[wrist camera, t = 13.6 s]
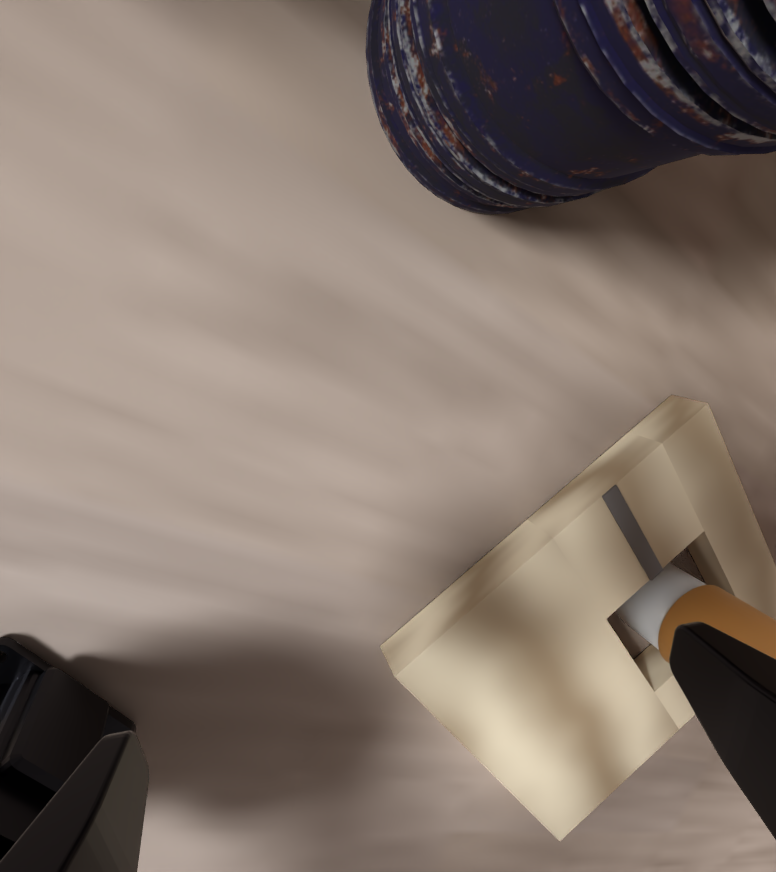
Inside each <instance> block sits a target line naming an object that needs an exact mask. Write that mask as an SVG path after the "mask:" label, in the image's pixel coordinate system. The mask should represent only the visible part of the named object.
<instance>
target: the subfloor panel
mask: <svg viewBox="0 0 776 872" xmlns="http://www.w3.org/2000/svg"><path fill="white" fill-rule="evenodd" d="M686 547H687V548H688V550H689V551H690V553H691V555H692V557H693V559H694V561H695V563H696V565H697V567H698V569H699V571H700V573H701V575H702V577H703V579H704V581H705V583H706V585H715V586H718V587H720V588H721V589H723V590H725V591H727V592H728V593H730V594H732V595H733V596H735V597H737V598H739V599H740V600H742V601H744V602H745V603H747V604H749V605H751V606H752V607H754V608H756V609H757V610H759V611H761V612H762V613H764V614H766V615H768V616H769V617H771V618H773V619H774V620H776V565H775V563H774V561H773V558H772V556H771V553H770V551H769V549H768V546H767V544H766V541H765V539H764V536H763V534H762V532H761V529H760V527H759V524H758V522H757V520H756V517H755V515H754V512H753V510H752V508H751V505H750V503H749V500H748V498H747V496H746V493H745V491H744V488H743V486H742V483H741V481H740V479H739V476H738V474H737V471H736V469H735V467H734V464H733V462H732V459H731V457H730V455H729V452H728V450H727V447H726V445H725V443H724V440H723V438H722V435H721V433H720V430H719V428H718V426H717V423H716V421H715V418H714V416H713V414H712V411H711V409H710V406H709V404H708V403H705V402H701V401H696V400H692V399H688V398H683V397H679V396H675V395H671V396H670V397H669V398H667V399H666V400H665V401H664V402H663V403H662V404H660V405H659V406H658V407H657V408H656V409H655V410H653V411H652V412H651V413H650V414H649V415H648V416H646V417H645V418H644V419H643V420H642V421H641V422H640V423H638V424H637V425H636V426H635V427H634V428H633V429H631V430H630V431H629V432H628V433H627V434H626V435H624V436H623V437H622V438H621V439H620V440H619V441H617V442H616V443H615V444H614V445H613V446H612V447H611V448H609V449H608V450H607V451H606V452H605V453H604V454H602V455H601V456H600V457H599V458H598V459H597V460H595V461H594V462H593V463H592V464H591V465H590V466H588V467H587V468H586V469H585V470H584V471H583V472H582V473H580V474H579V475H578V476H577V477H576V478H575V479H573V480H572V481H571V482H570V483H569V484H568V485H566V486H565V487H564V488H563V489H562V490H561V491H559V492H558V493H557V494H556V495H555V496H554V497H553V498H551V499H550V500H549V501H548V502H547V503H546V504H544V505H543V506H542V507H541V508H540V509H539V510H537V511H536V512H535V513H534V514H533V515H532V516H530V517H529V518H528V519H527V520H526V521H525V522H524V523H522V524H521V525H520V526H519V527H518V528H517V529H515V530H514V531H513V532H512V533H511V534H510V535H508V536H507V537H506V538H505V539H504V540H503V541H501V542H500V543H499V544H498V545H497V546H496V547H495V548H493V549H492V550H491V551H490V552H489V553H488V554H486V555H485V556H484V557H483V558H482V559H481V560H479V561H478V562H477V563H476V564H475V565H474V566H472V567H471V568H470V569H469V570H468V571H467V572H466V573H464V574H463V575H462V576H461V577H460V578H459V579H457V580H456V581H455V582H454V583H453V584H452V585H450V586H449V587H448V588H447V589H446V590H445V591H443V592H442V593H441V594H440V595H439V596H438V597H437V598H435V599H434V600H433V601H432V602H431V603H430V604H428V605H427V606H426V607H425V608H424V609H423V610H421V611H420V612H419V613H418V614H417V615H416V616H414V617H413V618H412V619H411V620H410V621H409V622H408V623H406V624H405V625H404V626H403V627H402V628H401V629H399V630H398V631H397V632H396V633H395V634H394V635H392V636H391V637H390V638H389V639H388V640H387V641H385V642H384V643H383V644H382V645H381V646H380V647H381V650H382V652H383V654H384V656H385V658H386V660H387V662H388V664H389V666H390V668H391V671H392V673H393V675H394V677H395V678H396V679H397V680H398V681H399V682H400V683H401V684H402V685H403V686H404V687H405V688H406V689H407V690H408V691H409V692H410V693H411V694H412V695H413V696H414V697H415V698H416V699H417V700H418V701H419V702H420V703H421V704H422V705H423V706H424V707H425V708H426V709H427V710H428V711H429V712H430V713H431V714H432V715H433V716H434V717H435V718H436V719H437V720H438V721H439V722H440V723H441V724H442V725H443V726H444V727H445V728H446V729H447V730H448V731H449V732H450V733H451V734H452V735H453V736H454V737H455V738H456V739H457V740H458V741H459V742H460V743H461V744H462V745H463V746H464V747H465V748H466V749H467V750H468V751H469V752H470V753H471V754H472V755H473V756H474V757H475V758H476V759H477V760H478V761H479V762H480V763H481V764H482V765H483V766H484V767H485V768H486V769H487V770H488V771H489V772H490V773H491V774H492V775H493V776H494V777H495V778H496V779H497V780H498V781H499V782H500V783H501V784H502V785H503V786H504V787H505V788H506V789H507V790H508V791H509V792H510V793H511V794H512V795H513V796H514V797H515V798H516V799H517V800H518V801H519V802H520V803H521V804H523V805H524V806H525V807H526V808H527V809H528V810H529V811H530V812H531V813H532V814H533V815H534V816H535V817H536V818H537V819H538V820H539V821H540V822H541V823H542V824H543V825H544V826H545V827H546V828H547V829H548V830H549V831H550V832H551V833H552V834H553V835H554V836H555V837H556V838H557V839H558V840H559V841H561V840H562V839H563V838H564V837H565V836H566V835H567V834H568V833H569V832H571V831H572V830H573V829H574V828H575V827H576V826H577V825H578V824H579V823H580V822H581V821H582V820H583V819H584V818H585V817H587V816H588V815H589V814H590V813H591V812H592V811H593V810H594V809H595V808H596V807H597V806H598V805H599V804H600V803H601V802H602V801H604V800H605V799H606V798H607V797H608V796H609V795H610V794H611V793H612V792H613V791H614V790H615V789H616V788H617V787H618V786H620V785H621V784H622V783H623V782H624V781H625V780H626V779H627V778H628V777H629V776H630V775H631V774H632V773H633V772H634V771H636V770H637V769H638V768H639V767H640V766H641V765H642V764H643V763H644V762H645V761H646V760H647V759H648V758H649V757H650V756H651V755H653V754H654V753H655V752H656V751H657V750H658V749H659V748H660V747H661V746H662V745H663V744H664V743H665V742H666V741H667V740H669V739H670V738H671V737H672V736H673V735H674V734H675V733H676V732H677V731H678V730H679V729H680V728H681V727H682V726H683V725H685V724H686V723H687V722H688V721H689V720H690V719H691V718H692V717H693V716H694V715H695V713H694V711H693V709H692V707H691V705H690V704H689V702H688V700H687V698H686V697H685V695H684V693H683V691H682V690H681V688H680V686H679V684H678V682H677V681H676V679H675V677H674V675H673V673H672V671H671V668H670V664H669V663H668V662H666V661H665V660H664V659H663V657H662V656H661V654H660V651H659V650H658V649H657V648H656V647H654V646H653V645H652V644H651V645H650V646H649V647H647V648H646V649H645V650H644V651H643V652H642V653H641V654H640V655H639V656H638V657H637V658H635V659H634V660H633V659H632V657H631V656H630V654H629V653H628V651H627V650H626V648H625V647H624V645H623V644H622V642H621V640H620V639H619V637H618V636H617V634H616V633H615V631H614V630H613V628H612V627H611V625H610V624H609V622H608V621H607V618H608V617H609V616H610V615H611V614H612V613H613V612H615V611H616V610H617V609H618V608H619V607H620V606H621V605H622V604H623V603H625V602H626V601H627V600H628V599H629V598H630V597H631V596H632V595H634V594H635V593H636V592H637V591H638V590H639V589H640V588H641V587H642V586H644V585H645V584H646V583H647V582H648V581H649V580H650V581H652V580H653V579H654V578H655V577H656V576H657V575H659V574H660V573H661V572H662V571H663V568H664V567H665V566H666V565H667V564H668V563H669V562H670V561H671V560H672V559H674V558H675V557H676V556H677V555H678V554H679V553H680V552H681V551H682V550H684V549H685V548H686Z"/></svg>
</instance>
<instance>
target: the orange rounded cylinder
mask: <svg viewBox="0 0 776 872" xmlns="http://www.w3.org/2000/svg"><path fill="white" fill-rule="evenodd" d="M617 612H618V615H619V617H620V618H621V620H622V621H623V622H625V623H626V624H627V625H628V626H630V627H631V628H632V629H633V630H635V631H636V632H637V633H638V634H640V635H641V636H642V637H643V638H644V639H646V640H647V641H648V642H649V643H651V644H652V645H653V646H654V647H656V648H657V649H658V650H659V651H660V654H661V656H662V657H663V659H664V660H665V661H666V662H668V663H669V657H670V652H671V647H672V642H673V637H674V632H675V629H676V627H677V626H678V625H681V624H686V623H691V622H703V623H706V624H708V625H710V626H712V627H714V628H716V629H718V630H720V631H722V632H724V633H726V634H728V635H730V636H731V637H733V638H735V639H737V640H739V641H741V642H743V643H745V644H747V645H749V646H751V647H753V648H755V649H757V650H759V651H761V652H763V653H765V654H767V655H768V656H770V657H772V658H774V659H776V620H774V619H773V618H771V617H769V616H768V615H766V614H764V613H762V612H761V611H759V610H757V609H756V608H754V607H752V606H751V605H749V604H747V603H745V602H744V601H742V600H740V599H739V598H737V597H735V596H733V595H732V594H730V593H728V592H727V591H725V590H723V589H721V588H720V587H718V586H715V585H706V584H705V583H703V582H701V581H700V580H698V579H696V578H695V577H693V576H691V575H690V574H688V573H686V572H685V571H683V570H681V569H680V568H678V567H676V566H675V565H673V564H671V563H668V564H667V565H666V566H665V567H664V568H663V571H662V572H661V573H660V574H659V575H657V576H656V577H655V578H654V579H653V580H652V581H650V580H649V581H648V582H647V583H646V584H645V585H644V586H642V587H641V588H640V589H639V590H638V591H637V592H636V593H635V594H634V595H632V596H631V597H630V598H629V599H628V600H627V601H626V602H625V603H623V604H622V605H621V606H620V607H619V608H618V609H617ZM669 664H670V663H669Z"/></svg>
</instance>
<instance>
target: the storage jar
mask: <svg viewBox="0 0 776 872" xmlns="http://www.w3.org/2000/svg"><path fill="white" fill-rule="evenodd" d="M366 59H367V72H368V80H369V85H370V90H371V94H372V99H373V103H374V106H375V109H376V112H377V115H378V118H379V121H380V124H381V126H382V129H383V131H384V132H385V134H386V136H387V138H388V140H389V142H390V144H391V146H392V148H393V150H394V151H395V153H396V154H397V156H398V157H399V159H400V160H401V161H402V163H403V164H404V166H405V167H406V168H407V170H408V171H409V172H410V173H411V174H412V175H413V176H414V177H415V178H416V179H417V180H418V181H419V182H420V183H421V184H422V185H423V186H424V187H426V188H427V189H428V190H429V191H431V192H432V193H433V194H434V195H436V196H437V197H439V198H441V199H443V200H444V201H446V202H448V203H450V204H452V205H454V206H456V207H459V208H462V209H465V210H468V211H471V212H477V213H484V214H504V213H511V212H515V211H519V210H523V209H527V208H531V207H547V206H552V205H556V204H560V203H565V202H569V201H573V200H577V199H581V198H585V197H588V196H590V195H592V194H594V193H597V192H599V191H601V190H603V189H607V188H611V187H614V186H618V185H622V184H625V183H628V182H630V181H632V180H634V179H636V178H639V177H641V176H643V175H645V174H647V173H648V172H649V171H651V170H652V169H654V168H655V167H657V166H660V165H663V164H667V163H670V162H674V161H678V160H681V159H685V158H689V157H692V156H696V155H700V154H705V155H710V156H711V155H739V154H765V153H769V152H773V151H776V0H372V1H371V6H370V11H369V17H368V22H367V37H366Z"/></svg>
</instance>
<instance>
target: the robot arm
mask: <svg viewBox="0 0 776 872" xmlns="http://www.w3.org/2000/svg"><path fill="white" fill-rule="evenodd" d="M0 651H3V652H5V653H6V656H0V872H137V868H138V860H139V853H140V845H141V837H142V829H143V822H144V814H145V806H146V798H147V791H148V783H149V769H148V764H147V761H146V759H145V756H144V753H143V751H142V748H141V746H140V743H139V741H138V738H137V736H136V734H135V733H136V726H135V724H134V723H133V722H132V721H131V720H129V719H128V718H126V717H125V716H123V715H122V714H121V713H119V712H118V711H116V710H115V709H113V708H112V707H110V706H109V704H108V703H107V702H106V701H105V700H103V699H102V698H100V697H99V696H97V695H96V694H94V693H93V692H92V691H90V690H89V689H87V688H86V687H84V686H83V685H81V684H80V683H79V682H77V681H76V680H74V679H73V678H71V677H70V676H68V675H67V674H66V673H64V672H63V671H61V670H60V669H58V668H54V667H52V666H51V665H49V664H48V663H46V662H45V661H44V660H42V659H41V658H39V657H38V656H36V655H35V654H33V653H32V652H31V651H29V650H28V649H26V648H25V647H23V646H22V645H20V644H19V643H17V642H16V641H15V640H12V639H10V638H5V637H1V638H0ZM669 663H670V668H671V671H672V673H673V675H674V677H675V679H676V681H677V682H678V684H679V686H680V688H681V690H682V691H683V693H684V695H685V697H686V698H687V700H688V702H689V704H690V705H691V707H692V709H693V711H694V713H695V714H696V716H697V718H698V720H699V721H700V723H701V725H702V727H703V728H704V730H705V732H706V734H707V736H708V737H709V739H710V741H711V743H712V744H713V746H714V748H715V750H716V751H717V753H718V755H719V756H720V758H721V760H722V761H723V763H724V764H725V766H726V767H727V769H728V770H729V772H730V774H731V775H732V777H733V778H734V780H735V781H736V782H737V784H738V785H739V787H740V788H741V790H742V791H743V793H744V794H745V796H746V797H747V799H748V800H749V801H750V803H751V804H752V806H753V807H754V809H755V810H756V812H757V813H758V815H759V816H760V817H761V819H762V820H763V822H764V823H765V825H766V826H767V828H768V829H769V831H770V832H771V834H772V835H773V836H774V838H775V839H776V659H774V658H772V657H770V656H768V655H767V654H765V653H763V652H761V651H759V650H757V649H755V648H753V647H751V646H749V645H747V644H745V643H743V642H741V641H739V640H737V639H735V638H733V637H731V636H730V635H728V634H726V633H724V632H722V631H720V630H718V629H716V628H714V627H712V626H710V625H708V624H706V623H703V622H691V623H686V624H681V625H678V626H677V627H676V629H675V632H674V637H673V642H672V647H671V652H670V657H669Z"/></svg>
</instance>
